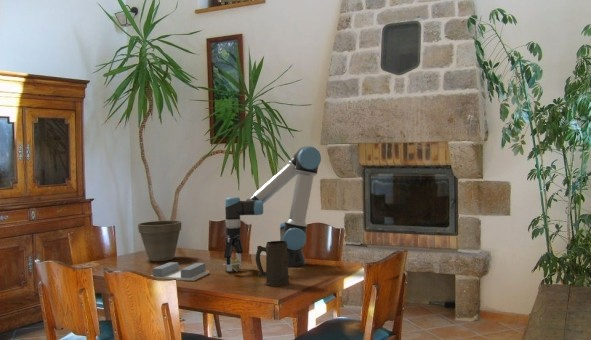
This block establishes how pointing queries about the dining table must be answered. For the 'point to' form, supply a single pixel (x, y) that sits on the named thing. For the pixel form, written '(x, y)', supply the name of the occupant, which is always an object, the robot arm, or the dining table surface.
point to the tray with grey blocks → (180, 271)
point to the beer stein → (274, 263)
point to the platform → (234, 265)
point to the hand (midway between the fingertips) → (234, 268)
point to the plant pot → (160, 239)
